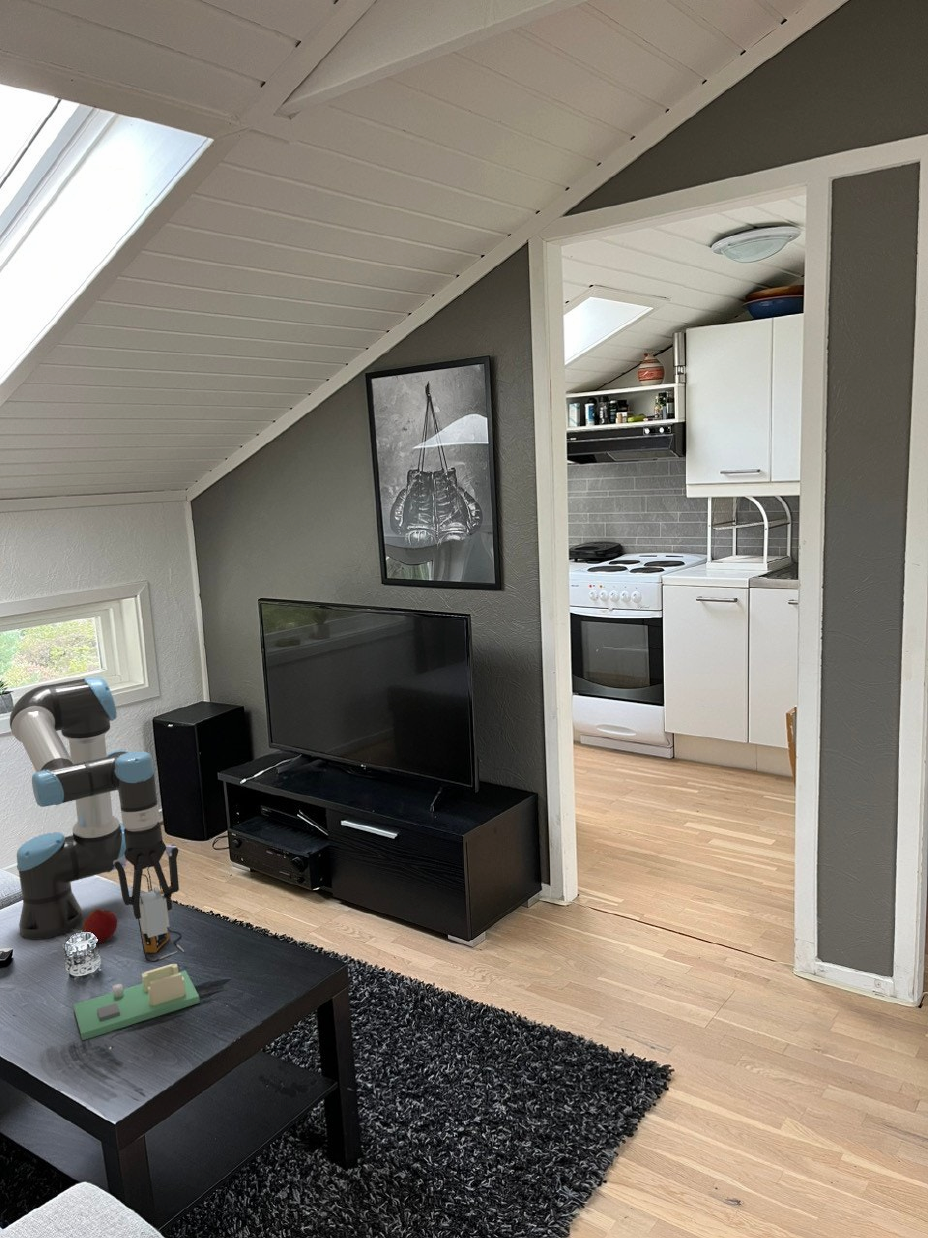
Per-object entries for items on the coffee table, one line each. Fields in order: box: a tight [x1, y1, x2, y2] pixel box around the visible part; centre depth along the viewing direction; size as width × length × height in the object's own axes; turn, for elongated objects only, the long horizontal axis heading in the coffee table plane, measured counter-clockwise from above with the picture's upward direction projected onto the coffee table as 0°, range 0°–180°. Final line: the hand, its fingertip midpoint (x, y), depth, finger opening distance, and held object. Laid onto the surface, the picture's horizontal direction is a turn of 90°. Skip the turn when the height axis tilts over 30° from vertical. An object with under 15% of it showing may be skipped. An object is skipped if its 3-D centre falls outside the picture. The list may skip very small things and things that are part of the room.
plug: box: [140, 886, 169, 938], centre depth 206 cm, size 5×4×9 cm
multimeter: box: [137, 867, 185, 963], centre depth 231 cm, size 15×10×20 cm
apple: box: [82, 909, 118, 944], centre depth 238 cm, size 8×8×8 cm
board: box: [73, 963, 201, 1041], centre depth 207 cm, size 13×24×6 cm, turn 119°
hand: (155, 927), depth 207 cm, fingers closed on plug, 4 cm apart
